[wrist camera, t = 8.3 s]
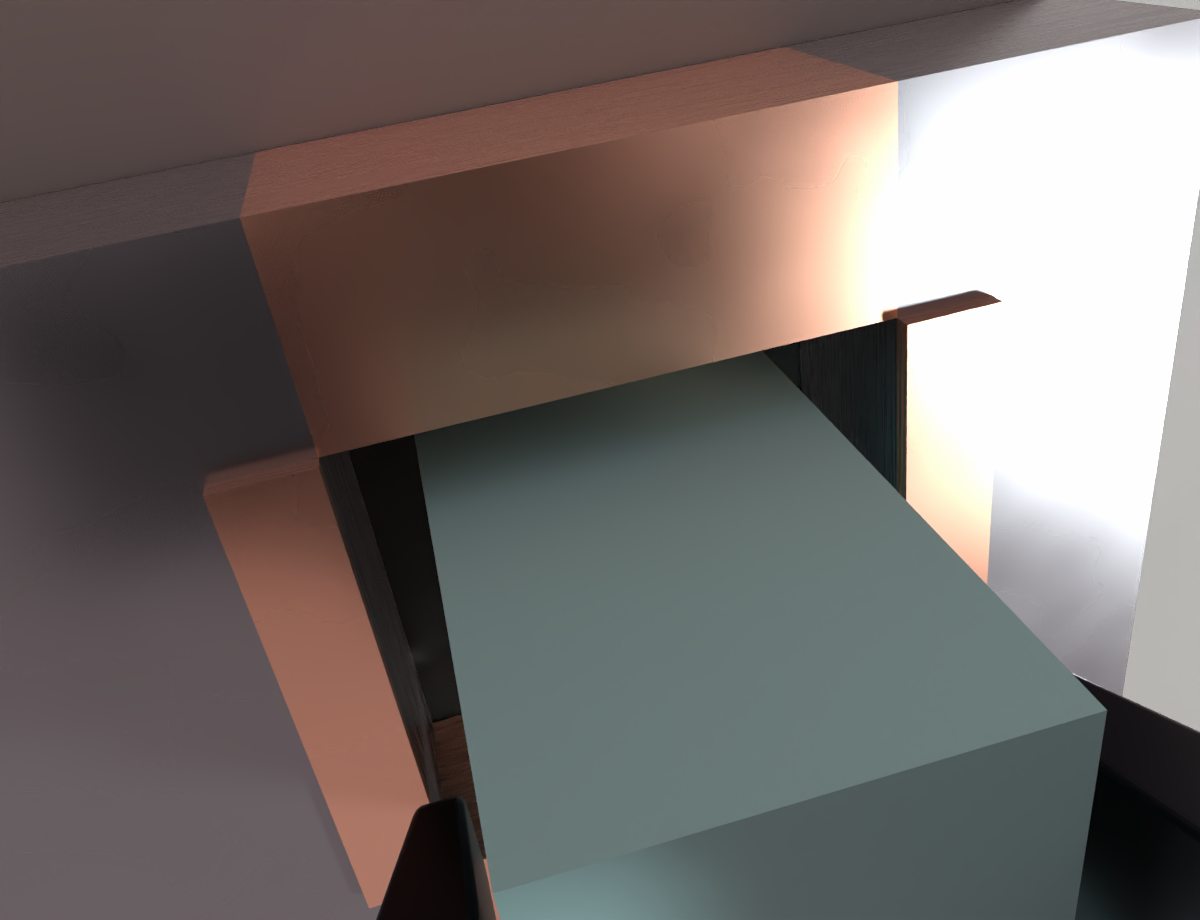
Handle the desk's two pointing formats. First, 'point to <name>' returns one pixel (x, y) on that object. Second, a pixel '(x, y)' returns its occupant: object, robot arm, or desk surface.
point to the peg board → (543, 401)
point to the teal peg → (741, 671)
